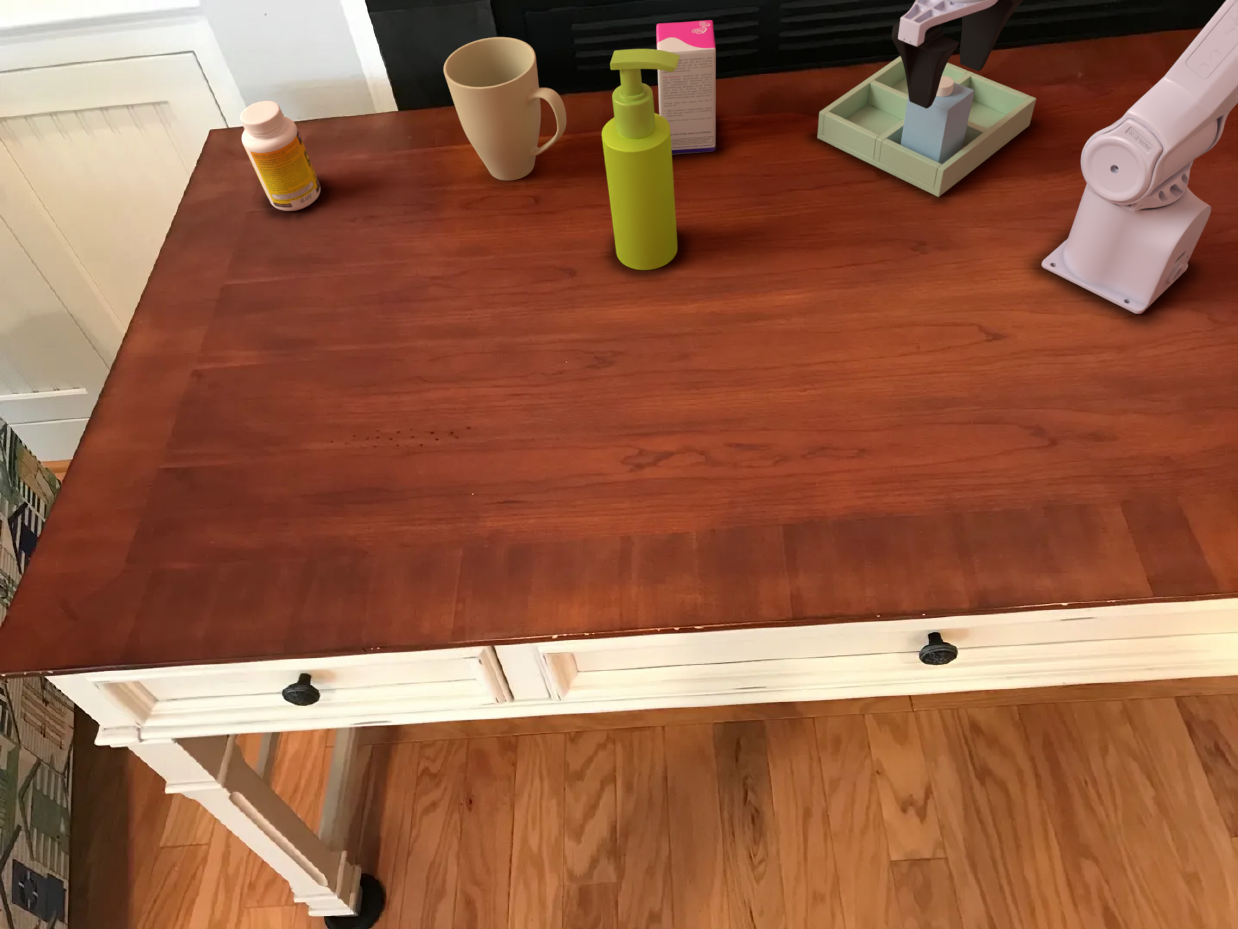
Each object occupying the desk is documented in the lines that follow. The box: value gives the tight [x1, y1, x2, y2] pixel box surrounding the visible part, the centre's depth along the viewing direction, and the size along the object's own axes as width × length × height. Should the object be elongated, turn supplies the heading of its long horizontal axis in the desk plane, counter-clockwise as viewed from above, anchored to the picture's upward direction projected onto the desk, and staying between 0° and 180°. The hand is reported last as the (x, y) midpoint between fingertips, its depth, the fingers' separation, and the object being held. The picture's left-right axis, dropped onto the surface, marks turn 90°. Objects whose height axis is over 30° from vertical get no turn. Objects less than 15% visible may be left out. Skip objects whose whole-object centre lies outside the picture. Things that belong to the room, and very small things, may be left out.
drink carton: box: [901, 76, 974, 164], centre depth 94 cm, size 4×4×8 cm
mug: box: [443, 36, 567, 182], centre depth 99 cm, size 11×10×12 cm
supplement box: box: [655, 19, 717, 156], centre depth 100 cm, size 6×6×12 cm
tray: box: [816, 55, 1037, 198], centre depth 100 cm, size 15×15×3 cm
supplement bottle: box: [240, 100, 322, 212], centre depth 101 cm, size 6×6×10 cm
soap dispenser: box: [601, 48, 680, 271], centre depth 86 cm, size 6×7×20 cm
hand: (946, 84), depth 90 cm, fingers open, 7 cm apart
